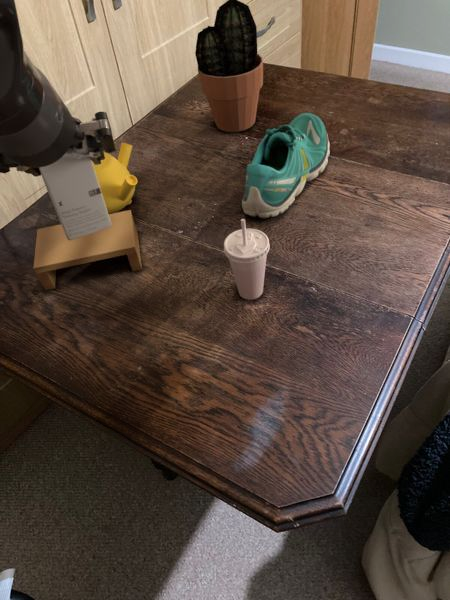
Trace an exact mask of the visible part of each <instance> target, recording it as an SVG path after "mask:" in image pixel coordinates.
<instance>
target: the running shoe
mask: <svg viewBox="0 0 450 600" xmlns="http://www.w3.org/2000/svg"><path fill="white" fill-rule="evenodd" d="M330 145H331V144H330V141H329V135H328V132H327V129H326V127H325V124H324V122H323V121H322V119H321V118H320V117H319V116H318V115H316V114H314V113H310V112H303V113H301V114H298V115H297V116H295V117H294V118H293V119H292V120H291V121H290V122H289V123H288V124H282V125H281V126H278V128H272V129H270V128H266V130H265V135H264V137H263V138H262V140H261V141H260V142H259V144H258V146H257V148H256V151H255V153H254V156H253V159H252V161H251V162H250V163H249V164H247V166H246V176H245V183H244V195H243V198H242V200H241V208H242V210H243V213H244V214H245V215H248V216H249V217H251V218H255V217H257V216H258V218H260V219H268V218H276V217H278V215H282V214H283V213H284V212H287V211H288V209H289V208H290V207H291V206H292V204H293V203H294V202H295V200H296V197H297V196H299V195H300V194H301V192H302V191H303V190H304V187H305V186H306V183H309V182H310V181H313V180H314V179H316V178H317V177H318V176H319V174H321V173H323V171H324V170H325V169H326V166H327V165H328V163H329V159H328V158H329V157H330V153H331V149H330Z"/></svg>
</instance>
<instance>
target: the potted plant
mask: <svg viewBox="0 0 450 600" xmlns="http://www.w3.org/2000/svg"><path fill="white" fill-rule="evenodd" d="M257 29H258V27H257V24H256V22H255V19H254V16H253V14H252V11H251V9H250V6H249V5H248V4H246V3H245V2H242V1H240V0H227V1H225V2H224V3H222V4H221V5H220V6H219V7H218V9H217V10H216V12H215V18H214V24H213V26H212V25H207V27H205V28H202V30H200V31H199V32H197V36H196V37H197V38H196V44H195V52H194V54H195V59H196V63H197V74H198V78H199V79H198V80H199V84H200V89H201V92H202V94H203V95H204V96H205V97H206V100H207V102H208V106H209V108H210V111H211V114H212V117H213V120H214V123H215V126H216V127H217V129H219V130H221V131H223V132H226V133H239V132H243V131H246V130H248V129H250V128H251V127H253V125H255V123H256V118H257V112H258V104H259V97H260V90H261V89H262V87H263V85H264V60H263V57H262V56H261V55H260V54H259V53H258V30H257Z"/></svg>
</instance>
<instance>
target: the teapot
mask: <svg viewBox="0 0 450 600" xmlns="http://www.w3.org/2000/svg"><path fill="white" fill-rule="evenodd" d="M132 150H133V145H132V144H129V143H126V142H121V145H120V148H119V152H118V156H117V158H116V157H114V156H113V155H112V154H111V153H106V152H105V151H104V156H105V159H104V160H101V164H98V165H95V164H94V163H93V161H92V163H93V167H94V170H95V173H96V176H97V180H98V183H99V186H100V189H101V192H102V195H103V199H104V202H105V205H106V208H107V212H108V214H113V213H118V212H121V210H123V209H124V208H125V207H126V206H129V205H131V204H132V202H133V199H132V198H133V197H134V195H135V191H136V185H137V184H138V178H137V177H136V176H135V175H133V174H131V173H130V171H129V170H128V166H129V162H130V157H131V154H132Z"/></svg>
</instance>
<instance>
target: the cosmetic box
mask: <svg viewBox="0 0 450 600" xmlns="http://www.w3.org/2000/svg"><path fill="white" fill-rule="evenodd" d="M39 170H40V172H41V177H42V180H43V183H44V186H45V188H46V191H47V193H48V196H49V199H50V200H51V203H52V205H53V207H54V211H55V212H56V215H57V217H58V220H59V223H60V224H61V225H62V227H63V230H64V232H65V235H66V237H67V239H68V240H73V239H76V238H79V237H82V236H85V235H88V234H91V233H94V232H97V231H100V230H103V229H106V228H108V227H110V226H111V221H110V218H109V215H108V212H107V208H106V205H105V202H104V199H103V195H102V192H101V189H100V186H99V183H98V180H97V176H96V173H95V170H94V167H93V163H92V160H91V159H90V157H88V156H86V157H83V158H81V159H77V158H72V157H67V156H65V157H62V158H60V159H59V160H58V161H56V162H55V163H53V164H51V165H48V166H45V167H39Z"/></svg>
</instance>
